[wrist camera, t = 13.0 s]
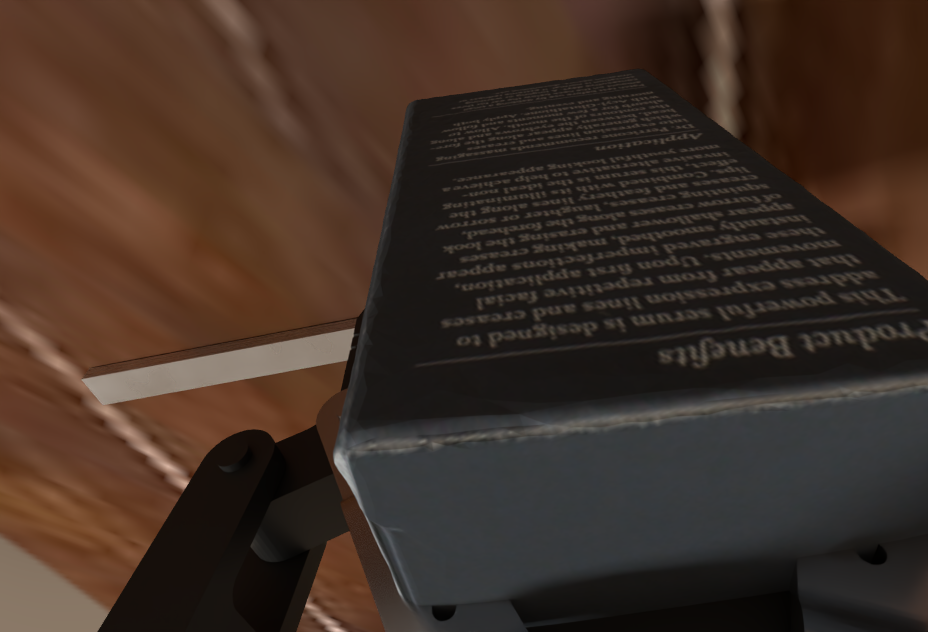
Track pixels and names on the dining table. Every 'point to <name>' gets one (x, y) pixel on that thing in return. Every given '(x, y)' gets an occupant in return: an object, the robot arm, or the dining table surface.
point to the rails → (222, 363)
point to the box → (623, 362)
